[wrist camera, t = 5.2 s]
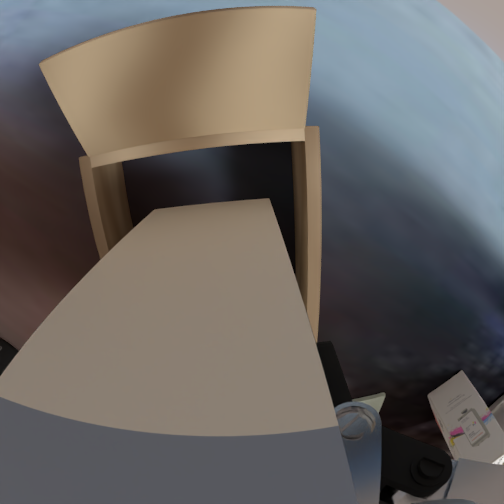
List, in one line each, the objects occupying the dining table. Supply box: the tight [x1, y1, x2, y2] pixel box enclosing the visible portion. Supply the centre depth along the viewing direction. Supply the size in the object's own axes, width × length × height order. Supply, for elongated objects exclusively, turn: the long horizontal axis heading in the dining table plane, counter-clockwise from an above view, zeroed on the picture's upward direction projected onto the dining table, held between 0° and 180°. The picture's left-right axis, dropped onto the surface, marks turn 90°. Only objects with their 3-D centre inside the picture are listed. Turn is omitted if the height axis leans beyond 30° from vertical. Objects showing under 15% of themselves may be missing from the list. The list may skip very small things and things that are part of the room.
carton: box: [39, 6, 321, 343], centre depth 13 cm, size 10×21×7 cm, turn 4°
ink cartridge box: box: [428, 370, 504, 465], centre depth 18 cm, size 9×5×15 cm, turn 35°
